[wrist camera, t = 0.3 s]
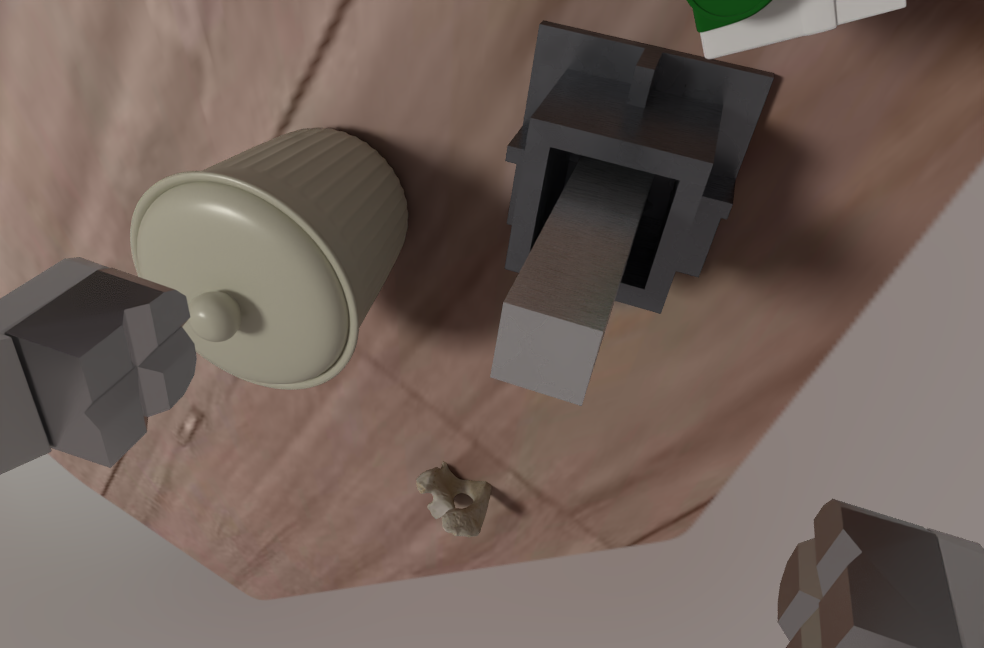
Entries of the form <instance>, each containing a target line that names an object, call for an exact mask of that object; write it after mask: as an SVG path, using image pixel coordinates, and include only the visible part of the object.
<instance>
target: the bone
mask: <svg viewBox="0 0 984 648" xmlns="http://www.w3.org/2000/svg"><path fill="white" fill-rule="evenodd" d="M416 482H417V488H418V490H419V491H420V493H421V494H424V493H431V494H432V495H433V501H432V502H431V503H429V504H428V509H429V510H430V511H431V512H430V513H431V514H432V516H433V517H434V518H435V519H438V518H441V517H442V526H443V528H444V530H445V531H446V532H448V533H452V534H453V535H455V536H466V537H471V536H477V535H478V534H479V533H480V531H481V527H482V524H483V521H484V518H485V515H486V512H487V508H488V502H489V499H490V493H491V485H490V484H488V483H487V482H480V481H470V480H461V479H458V478H457V477H456V476H454V475H453V474H452V472H451V471H450V470H449V468H448V466H447V464H446V463H445V462H444V461H443V464H442V467H441V469H439V468H438V467H435V468H433V469H430V470H427V471H425V472H423V473H422V474H421V475H420V476H419V477H418V478H417V479H416ZM460 493H464V494H467V495H469V496H470V497H471V498H472V499H473V501H474V502H473V503H472V504H471V505H470V506H468V507H467V508H463V509H459V508H456V509H455V505H454V500H453V498H454V496H456V495H457V494H460Z"/></svg>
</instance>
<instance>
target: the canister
mask: <svg viewBox="0 0 984 648" xmlns="http://www.w3.org/2000/svg"><path fill="white" fill-rule="evenodd" d="M407 220H408V210H407V200H406V199H405V196H404V189H403V188H402V187H401V185H400V181H399V178H397V176H396V175H395V173H394V171H393V168H391V167H390V166H389V165H388V163H387V162H386V159H385V158H383V157H382V156H381V155H380V154H379V153H378V152H377V150H375V149H373V148H371V147H370V146H369V145H368V143H366V142H363V141H361V140H360V139H358V138H357V137H356V136H351V135H349V134H347V133H346V132H343V131H336V130H334V129H331V128H328V129H324V128H319V127H318V128H312V129H309V128H307V129H301V130H298V131H295V132H290V133H287V134H285V135H282V136H279V137H277V138H275V139H272V140H270V141H267V142H265V143H262V144H260V145H258V146H255V147H253V148H251V149H249V150H246V151H244V152H242V153H240V154H238V155H235V156H233V157H231V158H229V159H227V160H225V161H222V162H220V163H218V164H216V165H213V166H211V167H209V168H207V169H205V170H203V171H189V172H182V173H178V174H174V175H171V176H168V177H166V178H164V179H162V180H160V181H159V182H157V183H156V184H154V185H153V186H152V187H150V188H149V189H148V190H147V191H146V192H145V193H144V195H143V196H142V197H141V199H140V200H139V202H138V204H137V206H136V208H135V211H134V214H133V217H132V222H131V230H130V244H131V252H132V257H133V261H134V265H135V268H136V271H137V274H138V277H141V278H143V279H146V280H149V281H152V282H155V283H158V284H161V285H164V286H166V287H169V288H172V289H175V290H177V291H179V292H180V293H182V294H183V295H185V296H186V298H187V303H188V307H189V312H190V318H189V320H188V321H187V322H186V323H185V324H184V326H183V329H184V330H185V331H186V333H187V334H188V335H189V337H190V338H191V340H192V341H193V342H194V344H195V350H196V352H197V353H198V354H199V355H201V356H202V357H203V358H205V359H206V360H208V361H209V362H211V363H212V364H214V365H215V366H217V367H219V368H220V369H222V370H224V371H226V372H228V373H230V374H232V375H234V376H236V377H238V378H240V379H243V380H245V381H248V382H251V383H254V384H257V385H261V386H265V387H270V388H276V389H288V390H293V389H305V388H310V387H314V386H317V385H320V384H323V383H325V382H327V381H329V380H330V379H332V378H333V377H335V376H336V375H337V374H338V373H340V372H341V371H342V369H343V368H344V367H345V366H346V365H347V363H348V362H349V360H350V359H351V357H352V355H353V353H354V350H355V347H356V344H357V340H358V333H359V327H360V326H361V324H362V322H363V320H364V318H365V317H366V315H367V313H368V311H369V309H370V308H371V306H372V304H373V302H374V301H375V299H376V297H377V295H378V294H379V292H380V290H381V288H382V286H383V285H384V283H385V281H386V279H387V277H388V275H389V273H390V271H391V269H392V267H393V265H394V263H395V262H396V260H397V258H398V255H399V253H400V251H401V248H402V246H403V244H404V241H405V238H406V232H407V229H408V221H407Z"/></svg>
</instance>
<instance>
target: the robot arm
mask: <svg viewBox="0 0 984 648" xmlns="http://www.w3.org/2000/svg"><path fill="white" fill-rule="evenodd" d="M189 318H190V312H189V307H188V303H187V298H186V296H185V295H183V294H182V293H180V292H179V291H177V290H175V289H172V288H169V287H166V286H164V285H161V284H158V283H155V282H152V281H149V280H146V279H143V278H141V277H138V276H135V275H132V274H129V273H126V272H123V271H120V270H117V269H115V268H109V267H106V266H103V265H100V264H98V263H95V262H92V261H89V260H86V259H84V258H81V257H76V258H67V259H63V260H62V261H60V262H59V263H57V264H55V265H54V266H52V267H51V268H49V269H47V270H46V271H44V272H42V273H41V274H39V275H38V276H36V277H34V278H33V279H31V280H30V281H28V282H26V283H25V284H23V285H22V286H20V287H18V288H17V289H15V290H13V291H12V292H10V293H9V294H7V295H5V296H4V297H2V298H1V299H0V474H2V473H5V472H7V471H9V470H12V469H14V468H16V467H18V466H20V465H22V464H24V463H27V462H29V461H31V460H34V459H36V458H38V457H40V456H42V455H45V454H47V453H49V452H51V451H52V450H51V448H53V449H56V450H59V451H62V452H65V453H68V454H71V455H74V456H77V457H80V458H83V459H86V460H89V461H92V462H95V463H98V464H101V465H104V466H107V467H109V468H111V467H112V466H113V465H114V464H115V463H116V462H117V461H118V460H119V459H120V458H121V457H122V456H123V455H124V454H125V453H126V452H127V451H128V450H129V449H130V448H131V447H132V446H133V445H134V444H135V443H136V442H137V441H138V440H139V439H140V438H141V437H142V436H143V435H144V434H145V433H147V424H148V417H150V416H152V415H155V414H158V413H161V412H164V411H166V410H169V409H171V408H172V407H173V406H174V405H175V403H176V402H177V401H178V400H179V399H180V398H181V397H182V396H183V395H184V394H185V392H186V390H187V388H188V386H189V384H190V382H191V380H192V378H193V376H194V373H195V366H196V359H197V358H196V350H195V344H194V342H193V341H192V340H191V338H190V337H189V335H188V334H187V333H186V331H185V330H184V329H183V326H184V324H185V323H186V322H187V321H188V320H189ZM814 531H815V538H813V539H810V540H807V541H804V542H801V543H799V544H798V545H797V546H796V548H795V550H794V552H793V553H792V555H791V557H790V558H789V560H788V562H787V564H786V567H785V571H784V574H783V577H782V580H781V583H780V589H779V597H778V623H779V625H780V626H781V628H782V630H783V631H784V633H785V635H786V636H787V638H788V639H789V641H790V642H789V644H788V645H787V647H786V648H984V549H983V548H982V546H981V545H980V544H979V543H976V542H973V541H969V540H966V539H963V538H959V537H956V536H953V535H950V534H946V533H943V532H940V531H936V530H933V529H925V528H924V527H922V526H919V525H915V524H912V523H909V522H906V521H903V520H899V519H896V518H893V517H890V516H886V515H883V514H880V513H877V512H873V511H870V510H867V509H864V508H861V507H857V506H854V505H851V504H848V503H845V502H841V501H838V500H835V499H832V500H830V501H829V502H828V503H826V504H825V505H824V506H823V507H822V508H821V510H820V511H819V513H818V514H817V516H816V517H815V519H814Z"/></svg>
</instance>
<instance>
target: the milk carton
mask: <svg viewBox="0 0 984 648" xmlns="http://www.w3.org/2000/svg"><path fill="white" fill-rule="evenodd" d="M687 2H688V3H689V4H690V6H691V7H692V8H693V13H694V18H695V23H696V28H697V31H698V32H700V35H701V41H702V46H703V51H704V56H705V58H707V59H713V58H717V57H721V56H725V55H729V54H733V53H737V52H741V51H745V50H749V49H754V48H758V47H762V46H766V45H770V44H774V43H778V42H782V41H786V40H790V39H793V38H797V37H801V36H805V35H806V36H808V35H813V34H817V33H821V32H825V31H829V30H832V29H835V28H836V27H837V26H836V25H840V24H844V23H848V22H852V21H856V20H859V19H863V18H867V17H871V16H875V15H878V14H882V13H886V12H890V11H894V10H897V9H901V8H904V7H906V0H687Z"/></svg>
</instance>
